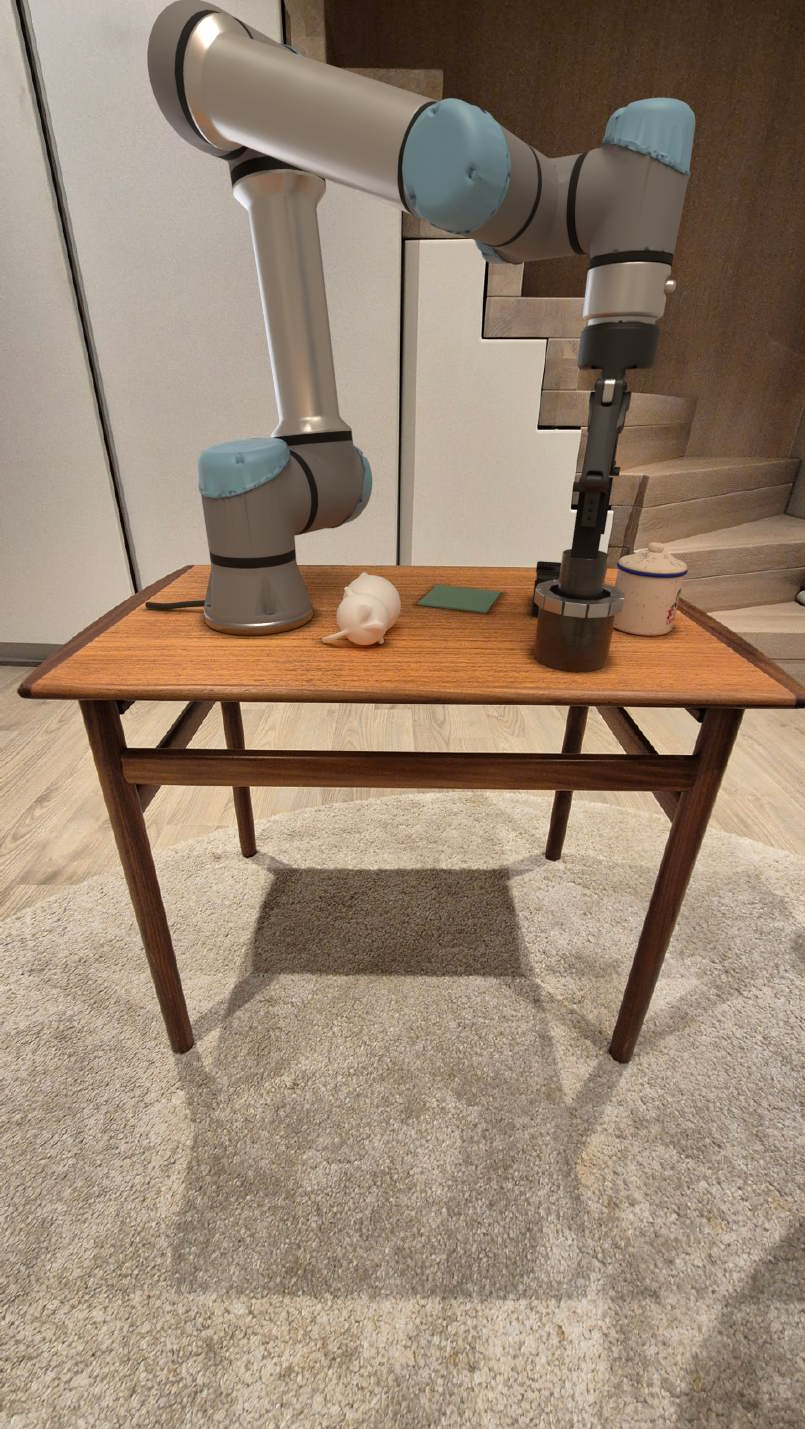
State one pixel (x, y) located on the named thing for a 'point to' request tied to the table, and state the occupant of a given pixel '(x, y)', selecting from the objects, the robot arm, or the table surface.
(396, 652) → the table surface
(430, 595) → the mat
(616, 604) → the segmented gray ring
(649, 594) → the teacup with lid
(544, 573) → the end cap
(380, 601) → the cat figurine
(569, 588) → the dark stepped cylinder
